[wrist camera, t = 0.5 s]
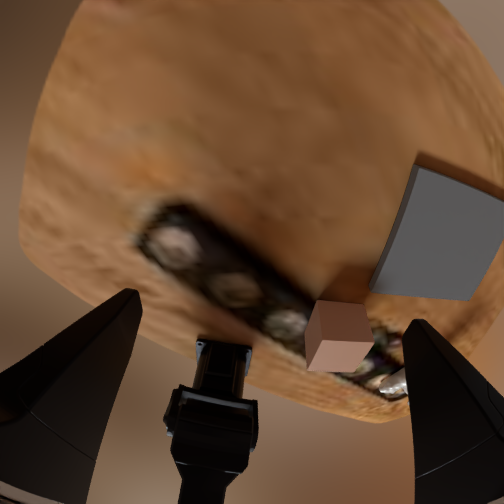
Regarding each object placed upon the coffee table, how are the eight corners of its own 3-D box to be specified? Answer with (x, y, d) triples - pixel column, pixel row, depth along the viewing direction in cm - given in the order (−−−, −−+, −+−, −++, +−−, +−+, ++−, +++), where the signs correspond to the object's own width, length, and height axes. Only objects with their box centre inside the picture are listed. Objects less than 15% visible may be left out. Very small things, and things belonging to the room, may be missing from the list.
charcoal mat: (465, 295, 24) (468, 300, 23) (368, 285, 24) (370, 292, 23) (510, 204, 17) (516, 208, 16) (413, 163, 17) (419, 167, 16)
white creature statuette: (375, 384, 35) (387, 454, 25) (405, 351, 30) (426, 431, 20) (420, 382, 35) (435, 443, 25) (450, 351, 30) (474, 418, 20)
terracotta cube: (346, 335, 28) (353, 372, 24) (304, 332, 28) (306, 370, 24) (363, 303, 26) (374, 342, 21) (317, 299, 26) (322, 339, 21)
